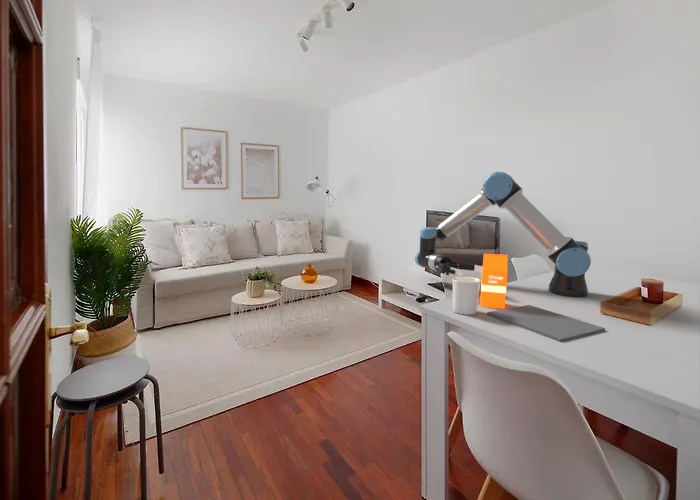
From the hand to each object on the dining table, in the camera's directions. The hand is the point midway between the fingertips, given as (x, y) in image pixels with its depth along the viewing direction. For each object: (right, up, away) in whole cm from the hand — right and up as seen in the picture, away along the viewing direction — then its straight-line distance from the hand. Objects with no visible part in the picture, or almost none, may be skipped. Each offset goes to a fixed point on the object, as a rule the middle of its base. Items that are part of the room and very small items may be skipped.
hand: (474, 272), depth 155 cm
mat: (+14, -15, -27) cm, 34 cm away
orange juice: (+4, -12, -7) cm, 15 cm away
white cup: (-9, -14, -16) cm, 23 cm away
